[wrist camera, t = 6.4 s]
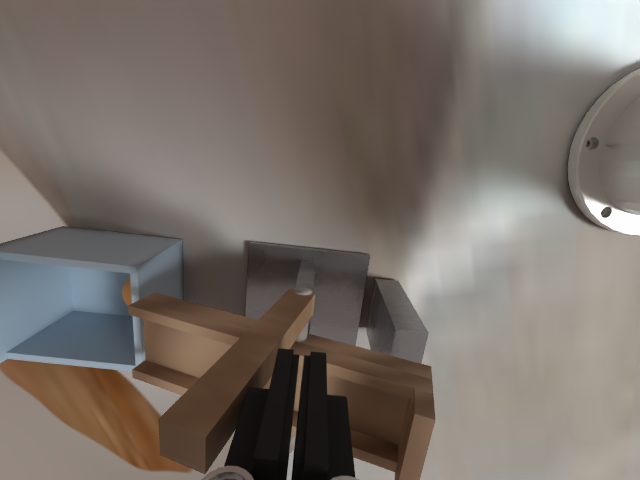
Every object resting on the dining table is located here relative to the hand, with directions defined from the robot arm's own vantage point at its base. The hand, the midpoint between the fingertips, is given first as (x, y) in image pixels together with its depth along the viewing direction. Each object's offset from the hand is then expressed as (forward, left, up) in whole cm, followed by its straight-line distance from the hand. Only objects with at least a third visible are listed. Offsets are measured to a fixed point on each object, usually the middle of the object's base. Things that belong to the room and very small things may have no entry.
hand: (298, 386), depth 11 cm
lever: (+2, +4, -7) cm, 8 cm away
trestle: (-1, +4, -16) cm, 17 cm away
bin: (+16, +4, -16) cm, 23 cm away
